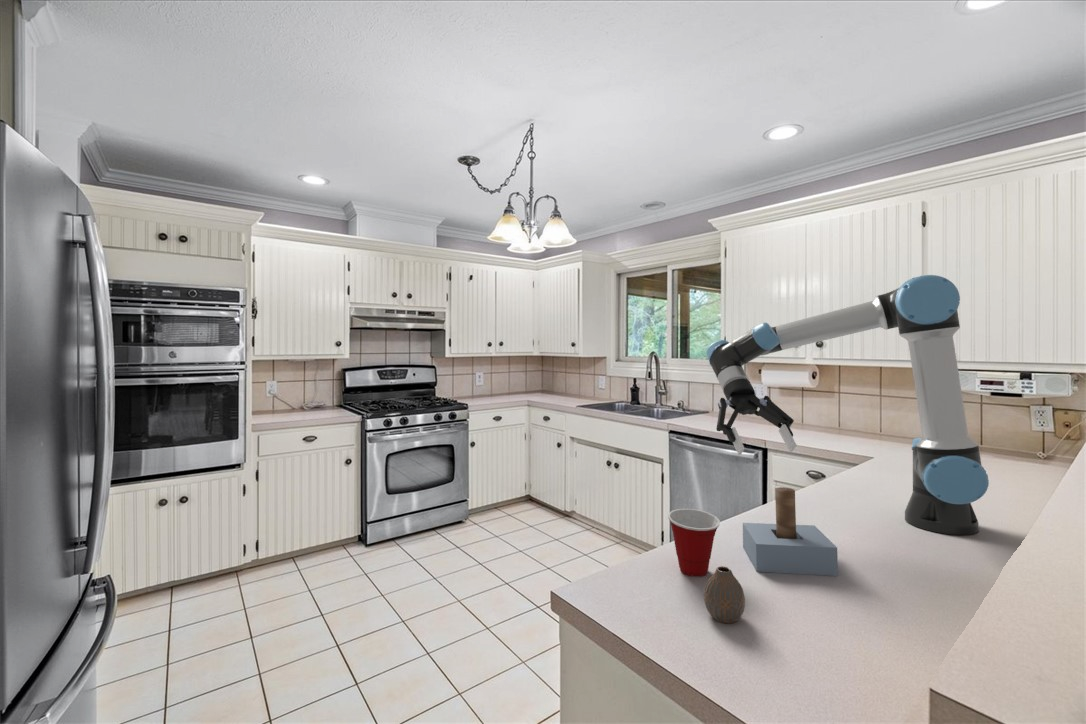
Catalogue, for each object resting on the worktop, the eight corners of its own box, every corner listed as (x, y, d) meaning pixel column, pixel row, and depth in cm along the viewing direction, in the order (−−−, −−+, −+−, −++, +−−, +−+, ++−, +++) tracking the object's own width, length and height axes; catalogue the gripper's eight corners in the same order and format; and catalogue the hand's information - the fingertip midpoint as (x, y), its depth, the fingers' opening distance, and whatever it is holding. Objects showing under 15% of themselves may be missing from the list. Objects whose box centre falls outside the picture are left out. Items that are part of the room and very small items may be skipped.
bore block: (814, 550, 115) (814, 525, 115) (837, 576, 102) (837, 547, 102) (742, 547, 118) (742, 522, 118) (756, 571, 105) (756, 543, 105)
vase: (749, 630, 84) (748, 579, 84) (706, 626, 85) (706, 576, 85) (741, 608, 90) (740, 562, 90) (702, 605, 92) (701, 559, 92)
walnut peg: (793, 552, 112) (791, 487, 112) (799, 560, 108) (797, 492, 108) (774, 552, 112) (773, 487, 112) (779, 559, 109) (778, 492, 108)
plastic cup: (699, 588, 98) (699, 529, 98) (658, 569, 107) (657, 515, 107) (731, 573, 105) (730, 517, 104) (690, 556, 114) (689, 505, 113)
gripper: (773, 392, 140) (808, 455, 126) (689, 396, 138) (715, 461, 123) (783, 375, 135) (821, 438, 120) (696, 379, 133) (724, 444, 118)
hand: (767, 450), depth 122 cm, fingers open, 13 cm apart
